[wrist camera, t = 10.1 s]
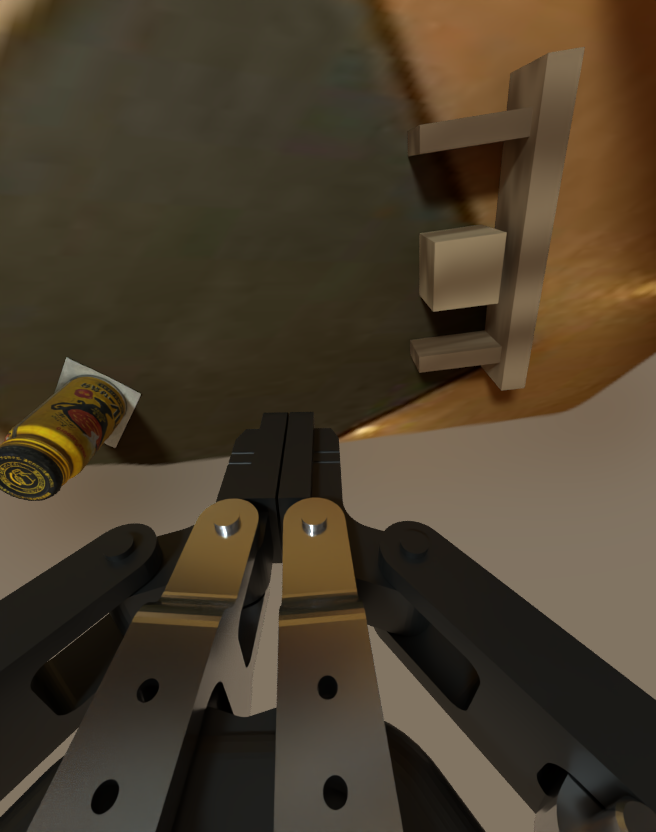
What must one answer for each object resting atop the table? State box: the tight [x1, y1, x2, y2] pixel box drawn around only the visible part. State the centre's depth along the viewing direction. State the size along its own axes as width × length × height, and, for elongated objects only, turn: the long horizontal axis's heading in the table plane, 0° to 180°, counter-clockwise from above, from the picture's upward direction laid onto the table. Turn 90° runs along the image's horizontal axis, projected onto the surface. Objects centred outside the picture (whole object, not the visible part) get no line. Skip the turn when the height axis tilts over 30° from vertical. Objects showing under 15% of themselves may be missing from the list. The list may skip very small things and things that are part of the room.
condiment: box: [0, 357, 141, 501], centre depth 34 cm, size 7×8×12 cm
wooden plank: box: [408, 47, 585, 391], centre depth 29 cm, size 22×9×5 cm, turn 7°
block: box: [419, 225, 507, 312], centre depth 30 cm, size 5×5×5 cm
